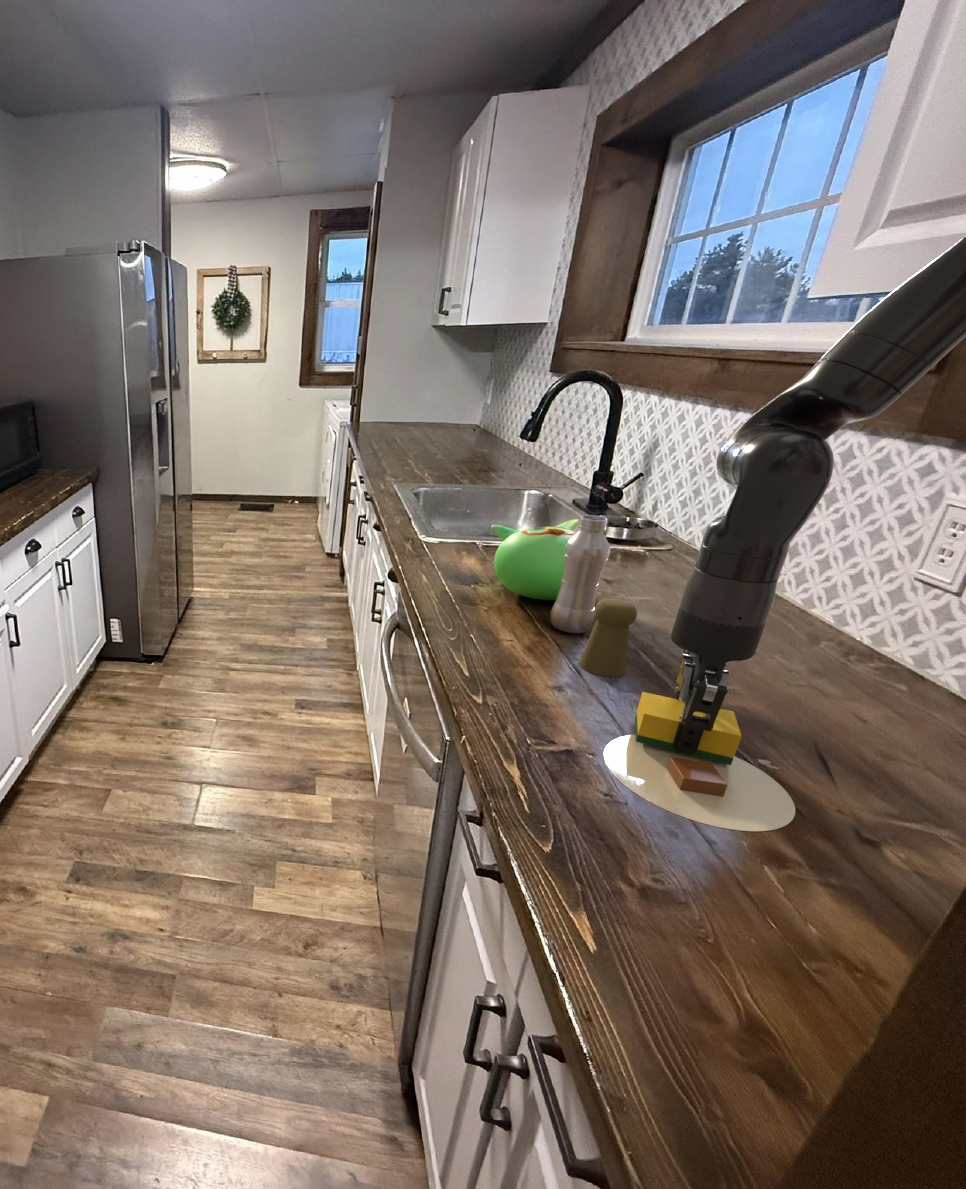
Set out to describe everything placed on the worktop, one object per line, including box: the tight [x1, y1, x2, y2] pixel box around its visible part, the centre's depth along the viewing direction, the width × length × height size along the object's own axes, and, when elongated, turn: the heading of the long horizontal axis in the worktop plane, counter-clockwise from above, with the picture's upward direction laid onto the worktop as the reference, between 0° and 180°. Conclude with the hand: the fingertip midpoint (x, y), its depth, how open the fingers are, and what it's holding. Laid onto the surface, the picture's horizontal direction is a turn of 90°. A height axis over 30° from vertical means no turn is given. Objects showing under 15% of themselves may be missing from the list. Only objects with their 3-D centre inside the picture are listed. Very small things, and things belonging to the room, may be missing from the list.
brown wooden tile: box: [667, 757, 727, 796], centre depth 70 cm, size 4×4×2 cm
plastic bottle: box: [550, 514, 611, 634], centre depth 106 cm, size 6×7×20 cm
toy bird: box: [491, 518, 580, 601], centre depth 122 cm, size 18×17×15 cm
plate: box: [603, 733, 796, 833], centre depth 71 cm, size 22×22×1 cm
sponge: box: [634, 691, 742, 765], centre depth 76 cm, size 9×6×4 cm, turn 57°
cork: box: [578, 597, 638, 678], centre depth 95 cm, size 6×6×11 cm
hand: (681, 736), depth 77 cm, fingers closed on sponge, 6 cm apart
